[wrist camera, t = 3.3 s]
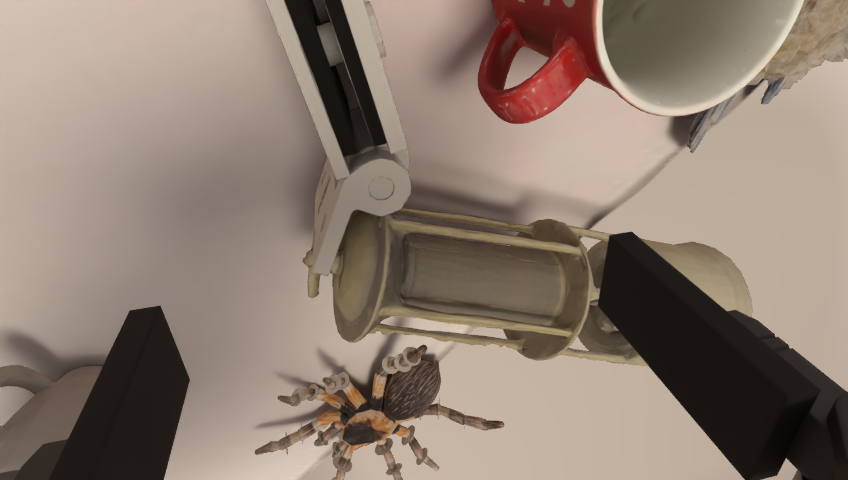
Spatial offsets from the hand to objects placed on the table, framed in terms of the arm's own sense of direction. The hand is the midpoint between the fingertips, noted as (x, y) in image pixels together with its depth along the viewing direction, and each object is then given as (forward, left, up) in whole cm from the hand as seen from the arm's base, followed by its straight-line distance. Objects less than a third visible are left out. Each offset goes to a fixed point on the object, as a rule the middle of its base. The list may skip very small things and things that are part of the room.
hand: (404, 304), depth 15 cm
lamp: (+27, -11, -15) cm, 33 cm away
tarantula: (+4, -24, -15) cm, 28 cm away
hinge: (-2, +2, -9) cm, 9 cm away
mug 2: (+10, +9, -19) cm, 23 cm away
